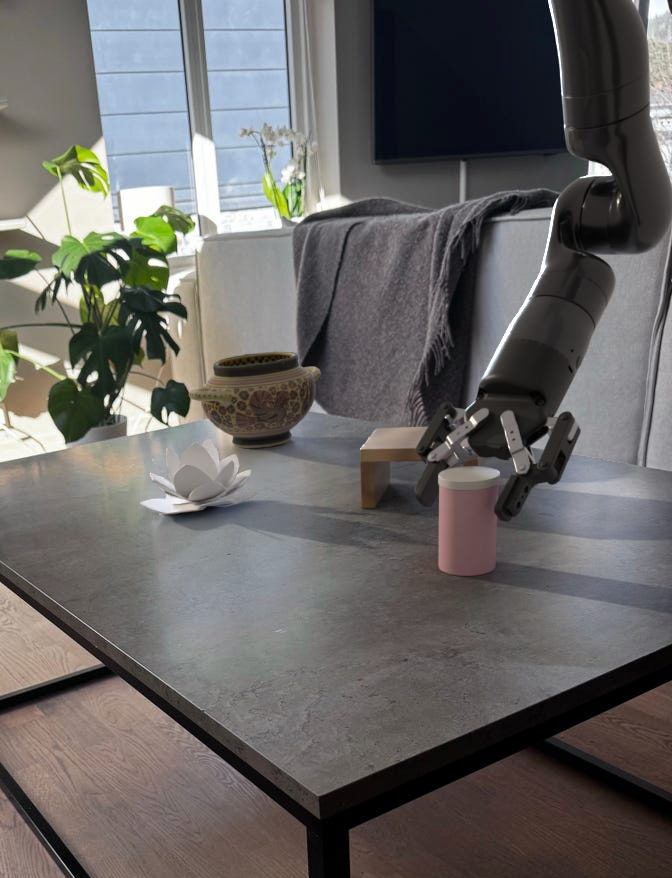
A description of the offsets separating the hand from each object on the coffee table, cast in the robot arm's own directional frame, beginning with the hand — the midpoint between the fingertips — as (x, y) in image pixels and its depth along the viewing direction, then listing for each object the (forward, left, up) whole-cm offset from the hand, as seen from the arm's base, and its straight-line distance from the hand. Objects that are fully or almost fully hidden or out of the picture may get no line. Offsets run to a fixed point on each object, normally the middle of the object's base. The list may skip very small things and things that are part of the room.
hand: (460, 509), depth 84 cm
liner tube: (-1, -1, -6) cm, 6 cm away
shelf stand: (+6, -25, -6) cm, 26 cm away
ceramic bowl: (+35, -55, -6) cm, 66 cm away
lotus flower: (+33, -20, -6) cm, 39 cm away
